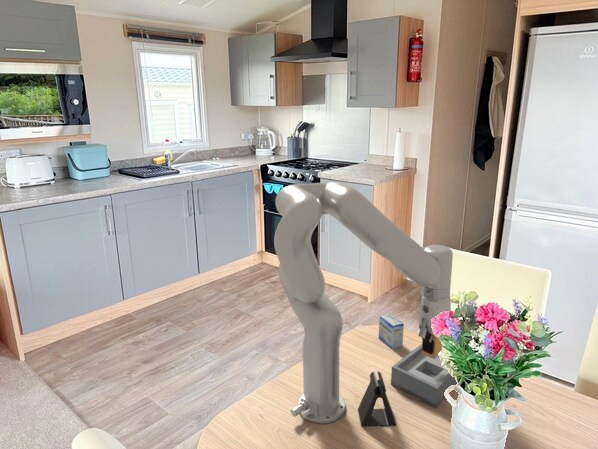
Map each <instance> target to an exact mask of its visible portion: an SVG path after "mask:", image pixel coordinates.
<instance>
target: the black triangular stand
mask: <svg viewBox="0 0 598 449" xmlns="http://www.w3.org/2000/svg"><path fill="white" fill-rule="evenodd" d="M369 374H370V375H369V379H370V380H369V383H368V385H367V388H366V390H365V392H364V394H363V397H362V399H361V402H360V404H359V405H358V408H357V412H358V418H359V422H360V426H361V428H362V427H365V428H366V427H368V428H371V427H396V426H397V421H396V418H395V416H394V415H395V414H394V412H393V409H392V407H391V403H390V401H389V399H388V395H387V393H386V392H387V389H386V385H385V382H384V378H383V374H382V373H381V372H380V371H377V376H378V380H377V376H376V374H375V371H372V372H371V373H369ZM378 399H382V402H383V406H384V408H375V405H376V402H377V401H378Z"/></svg>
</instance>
